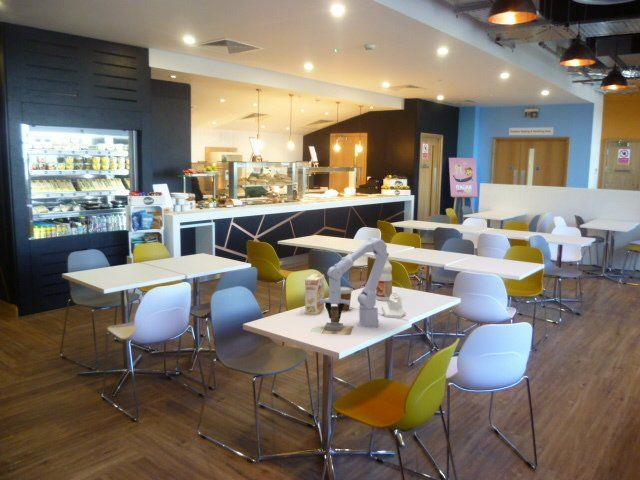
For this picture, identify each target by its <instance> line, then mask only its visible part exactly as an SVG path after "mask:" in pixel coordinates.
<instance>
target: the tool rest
mask: <svg viewBox="0 0 640 480" xmlns="http://www.w3.org/2000/svg"><path fill="white" fill-rule="evenodd" d="M322 331H323V328H312V329H311V330H310V332H311V333H322Z"/></svg>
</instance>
